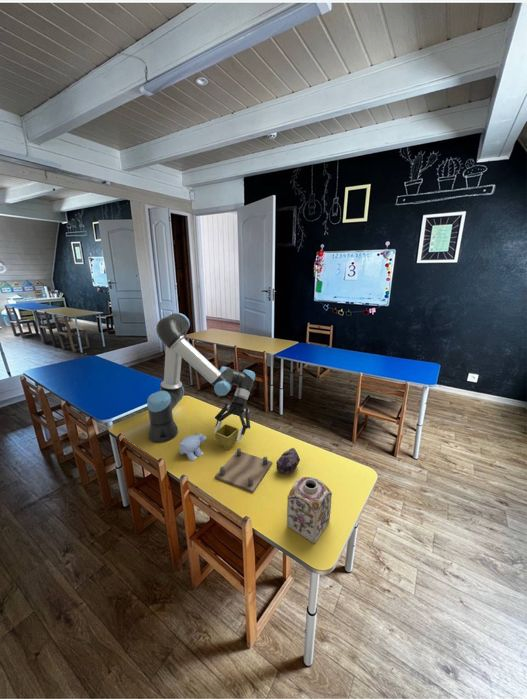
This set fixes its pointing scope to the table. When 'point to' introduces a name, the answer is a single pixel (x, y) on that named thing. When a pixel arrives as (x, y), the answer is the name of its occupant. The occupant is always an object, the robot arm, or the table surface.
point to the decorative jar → (309, 507)
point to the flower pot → (226, 436)
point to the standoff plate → (244, 470)
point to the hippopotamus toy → (192, 446)
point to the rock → (288, 461)
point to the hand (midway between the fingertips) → (226, 437)
